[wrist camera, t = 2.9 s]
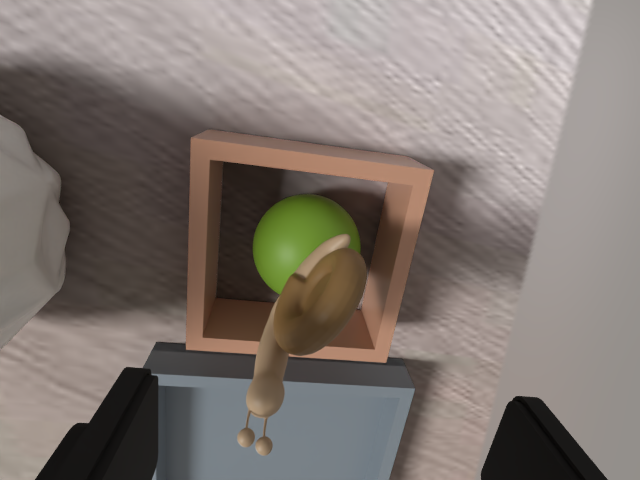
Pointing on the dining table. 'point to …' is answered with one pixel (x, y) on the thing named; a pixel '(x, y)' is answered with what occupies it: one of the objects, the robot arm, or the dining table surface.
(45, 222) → the vase
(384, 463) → the tray
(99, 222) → the dining table surface
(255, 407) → the snail figurine
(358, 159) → the open box
